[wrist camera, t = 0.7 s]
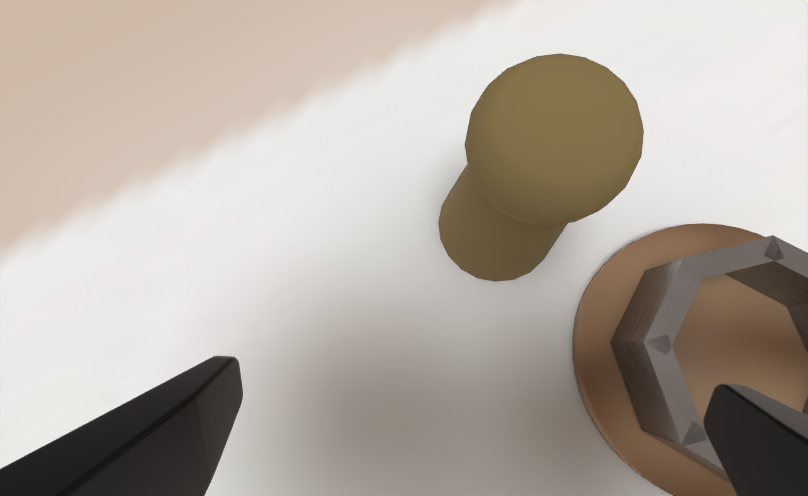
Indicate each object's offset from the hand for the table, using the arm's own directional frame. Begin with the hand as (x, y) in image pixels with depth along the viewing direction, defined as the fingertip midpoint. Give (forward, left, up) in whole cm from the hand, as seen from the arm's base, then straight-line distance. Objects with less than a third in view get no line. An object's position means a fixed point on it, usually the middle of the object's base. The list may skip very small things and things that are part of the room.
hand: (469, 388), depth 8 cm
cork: (+6, -5, -13) cm, 15 cm away
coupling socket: (-3, -13, -13) cm, 18 cm away
